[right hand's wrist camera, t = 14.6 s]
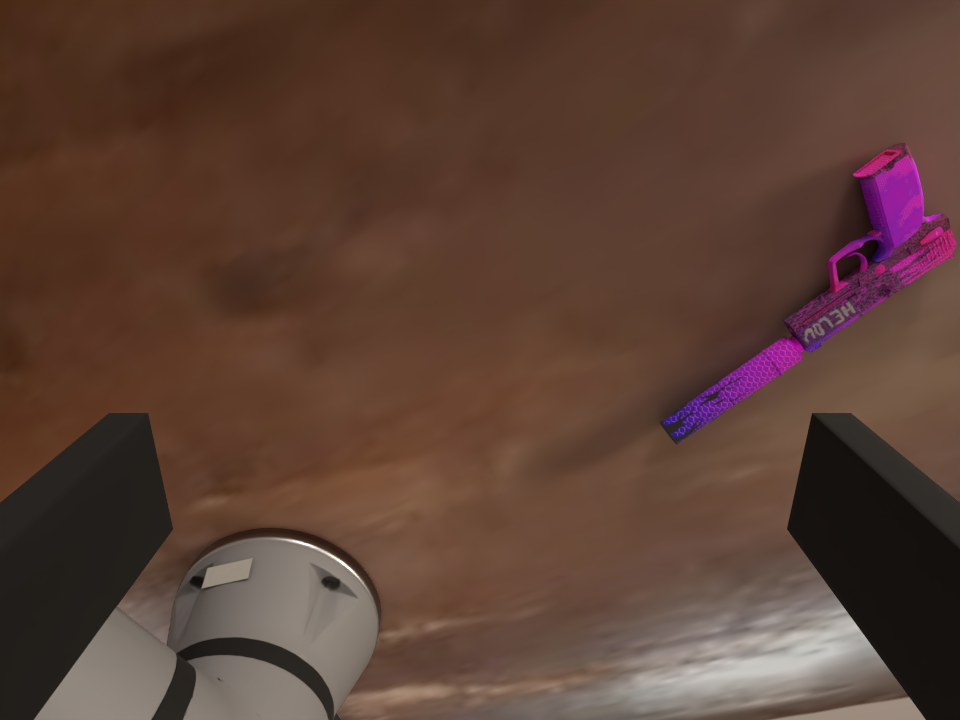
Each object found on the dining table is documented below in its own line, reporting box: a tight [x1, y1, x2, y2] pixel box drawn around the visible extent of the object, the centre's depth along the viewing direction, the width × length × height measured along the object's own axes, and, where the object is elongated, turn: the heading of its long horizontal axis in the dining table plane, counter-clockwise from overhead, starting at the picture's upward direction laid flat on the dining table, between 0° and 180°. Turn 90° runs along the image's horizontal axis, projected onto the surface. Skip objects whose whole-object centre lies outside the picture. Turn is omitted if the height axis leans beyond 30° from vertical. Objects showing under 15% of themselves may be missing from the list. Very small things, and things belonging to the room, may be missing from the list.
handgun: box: [660, 143, 956, 444], centre depth 39 cm, size 21×8×2 cm, turn 131°
